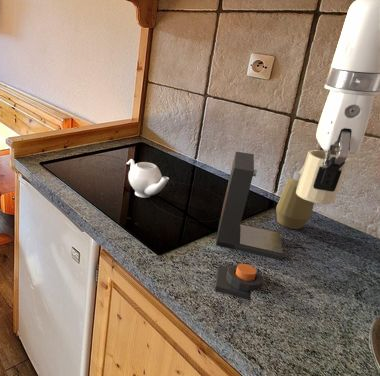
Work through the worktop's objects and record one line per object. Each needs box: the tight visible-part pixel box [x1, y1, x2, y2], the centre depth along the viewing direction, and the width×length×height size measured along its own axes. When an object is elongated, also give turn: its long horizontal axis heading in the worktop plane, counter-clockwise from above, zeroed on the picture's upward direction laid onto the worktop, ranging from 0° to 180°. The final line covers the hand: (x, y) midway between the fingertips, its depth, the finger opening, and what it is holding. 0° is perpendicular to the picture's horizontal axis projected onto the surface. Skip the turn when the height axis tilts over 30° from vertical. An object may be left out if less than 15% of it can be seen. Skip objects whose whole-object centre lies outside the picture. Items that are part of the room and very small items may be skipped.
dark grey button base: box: [214, 264, 271, 301], centre depth 82 cm, size 10×8×3 cm
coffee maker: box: [215, 151, 284, 261], centre depth 95 cm, size 14×12×20 cm
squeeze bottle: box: [275, 165, 315, 230], centre depth 103 cm, size 8×8×18 cm
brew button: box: [235, 263, 258, 281], centre depth 81 cm, size 4×4×2 cm
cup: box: [296, 149, 351, 205], centre depth 73 cm, size 6×6×8 cm
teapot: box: [125, 158, 170, 199], centre depth 119 cm, size 10×20×9 cm, turn 21°
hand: (320, 181), depth 73 cm, fingers closed on cup, 6 cm apart
